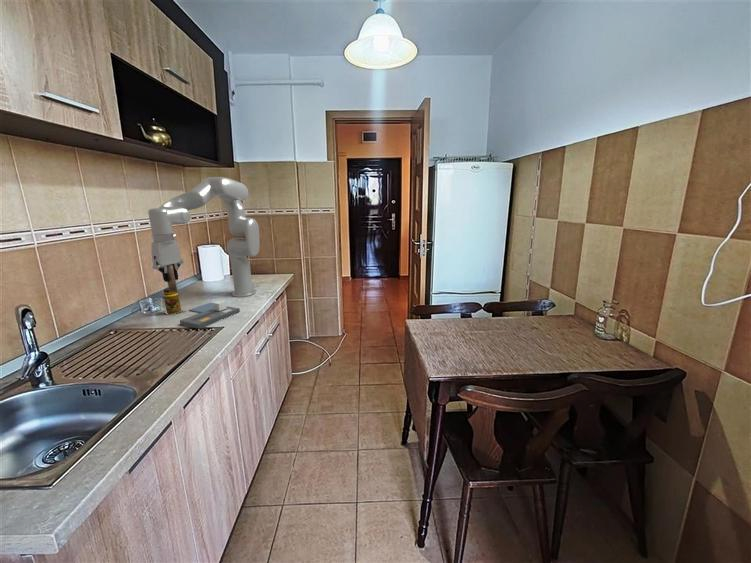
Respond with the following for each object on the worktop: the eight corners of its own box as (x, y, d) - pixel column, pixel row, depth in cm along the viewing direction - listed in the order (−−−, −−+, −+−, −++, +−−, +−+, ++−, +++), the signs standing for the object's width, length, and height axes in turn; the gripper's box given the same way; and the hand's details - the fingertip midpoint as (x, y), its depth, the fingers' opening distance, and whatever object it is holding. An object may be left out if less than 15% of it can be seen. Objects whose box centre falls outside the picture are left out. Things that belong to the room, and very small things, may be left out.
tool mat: (210, 303, 175) (210, 302, 174) (224, 306, 170) (224, 304, 170) (189, 310, 164) (189, 309, 164) (203, 313, 160) (203, 312, 160)
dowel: (174, 290, 149) (168, 259, 146) (178, 291, 148) (173, 259, 144) (167, 292, 147) (162, 260, 143) (172, 293, 145) (166, 261, 142)
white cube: (220, 307, 161) (219, 300, 160) (226, 308, 160) (225, 301, 159) (213, 309, 158) (212, 302, 157) (219, 311, 156) (218, 303, 155)
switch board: (221, 309, 166) (221, 305, 165) (239, 312, 161) (239, 308, 160) (180, 324, 146) (179, 320, 146) (199, 328, 142) (198, 324, 141)
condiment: (170, 315, 158) (166, 291, 155) (161, 312, 162) (156, 288, 159) (185, 311, 164) (181, 287, 161) (176, 308, 168) (172, 285, 165)
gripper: (176, 235, 150) (183, 275, 155) (138, 240, 136) (146, 284, 140) (187, 236, 147) (194, 277, 151) (149, 241, 133) (158, 286, 137)
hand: (171, 280), depth 146 cm, fingers closed on dowel, 3 cm apart
